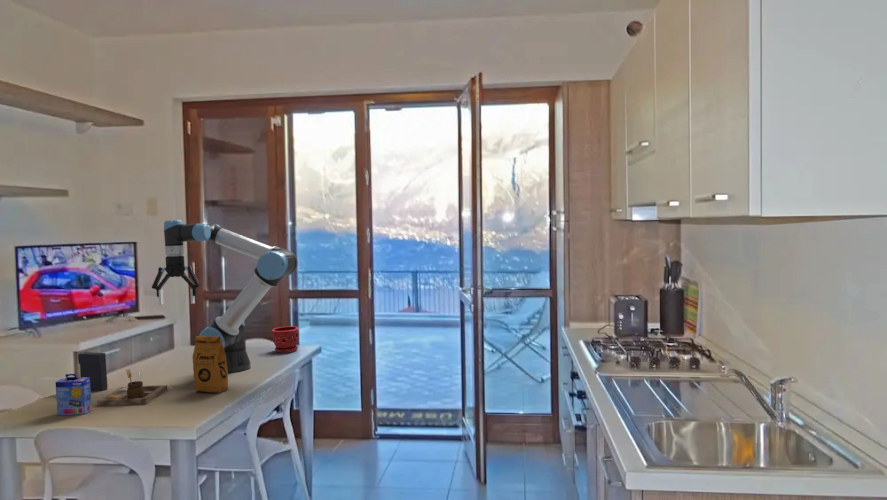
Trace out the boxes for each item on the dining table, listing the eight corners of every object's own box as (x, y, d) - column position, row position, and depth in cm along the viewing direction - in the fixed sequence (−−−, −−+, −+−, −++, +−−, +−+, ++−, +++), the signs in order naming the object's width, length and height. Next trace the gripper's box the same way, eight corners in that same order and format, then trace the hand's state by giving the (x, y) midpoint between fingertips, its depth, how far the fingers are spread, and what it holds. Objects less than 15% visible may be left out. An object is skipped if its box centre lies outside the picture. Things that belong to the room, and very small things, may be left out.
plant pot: (274, 349, 341) (273, 326, 340) (300, 348, 342) (299, 325, 341) (271, 354, 328) (270, 330, 327) (297, 353, 329) (296, 329, 328)
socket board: (167, 390, 262) (167, 384, 262) (146, 404, 242) (146, 397, 242) (122, 391, 262) (122, 386, 262) (97, 406, 242) (96, 399, 242)
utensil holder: (136, 403, 243) (134, 371, 243) (123, 402, 245) (121, 370, 245) (148, 399, 249) (146, 368, 248) (135, 398, 251) (134, 367, 250)
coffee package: (217, 395, 252) (215, 338, 251) (190, 393, 256) (187, 337, 255) (233, 388, 262) (230, 333, 261) (206, 387, 265) (203, 333, 264)
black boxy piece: (109, 388, 268) (107, 352, 267) (100, 391, 263) (98, 354, 263) (88, 387, 271) (86, 351, 270) (79, 390, 267) (77, 353, 266)
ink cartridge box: (56, 416, 230) (53, 375, 230) (64, 411, 236) (61, 371, 235) (85, 414, 231) (83, 373, 231) (92, 409, 237) (90, 370, 236)
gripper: (142, 257, 280) (144, 306, 281) (200, 254, 281) (203, 304, 282) (149, 256, 288) (151, 303, 289) (206, 254, 289) (208, 301, 290)
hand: (177, 304), depth 285 cm, fingers open, 13 cm apart
